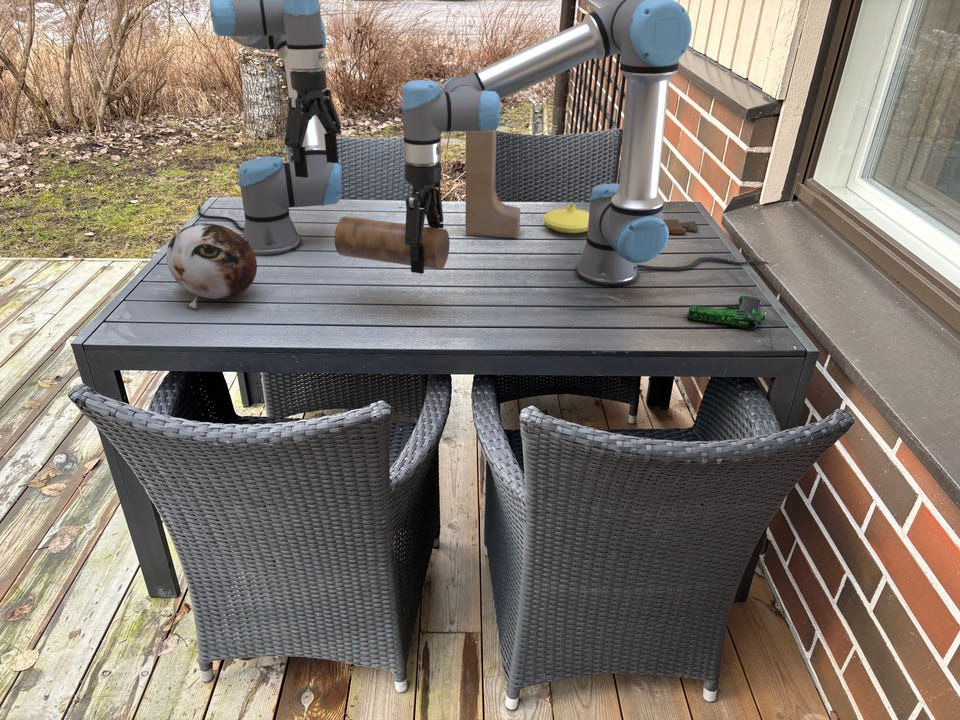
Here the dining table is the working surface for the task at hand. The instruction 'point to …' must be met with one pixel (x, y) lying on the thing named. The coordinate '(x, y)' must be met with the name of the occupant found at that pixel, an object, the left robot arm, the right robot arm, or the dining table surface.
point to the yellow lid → (567, 220)
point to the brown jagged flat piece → (679, 226)
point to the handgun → (731, 314)
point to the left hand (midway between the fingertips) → (317, 169)
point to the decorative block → (486, 190)
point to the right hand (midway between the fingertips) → (425, 264)
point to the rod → (388, 242)
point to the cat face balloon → (211, 261)
